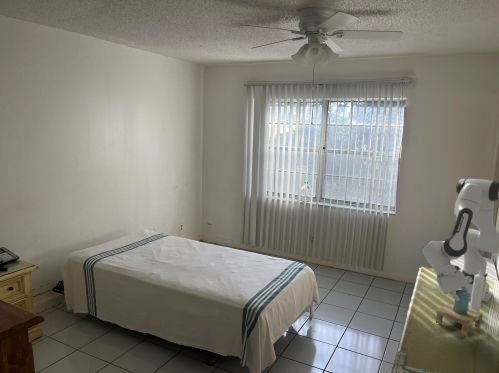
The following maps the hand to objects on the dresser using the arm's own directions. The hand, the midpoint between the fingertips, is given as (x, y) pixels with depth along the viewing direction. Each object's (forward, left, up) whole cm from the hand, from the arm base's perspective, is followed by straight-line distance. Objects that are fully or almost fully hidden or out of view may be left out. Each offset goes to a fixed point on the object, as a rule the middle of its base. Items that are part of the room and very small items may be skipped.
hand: (463, 298), depth 184 cm
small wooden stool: (0, -1, -14) cm, 14 cm away
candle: (-17, -1, -15) cm, 22 cm away
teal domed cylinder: (0, -1, -7) cm, 7 cm away
